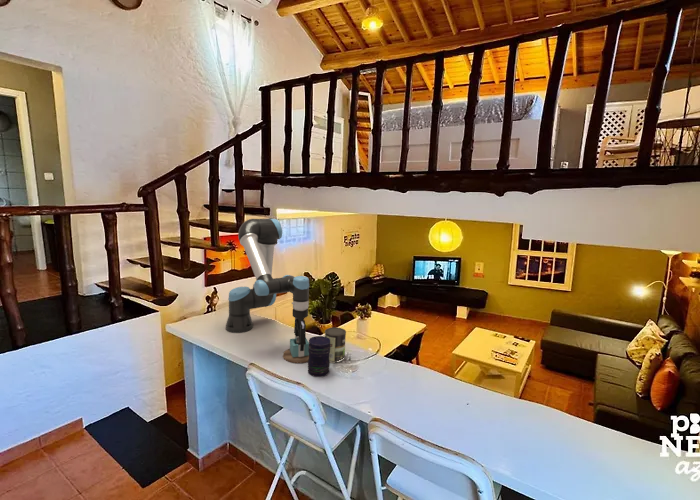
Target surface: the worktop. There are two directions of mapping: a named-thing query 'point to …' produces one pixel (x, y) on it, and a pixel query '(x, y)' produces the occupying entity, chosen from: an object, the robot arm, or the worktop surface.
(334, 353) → the coffee can
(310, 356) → the storage jar
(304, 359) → the post stand
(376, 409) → the worktop surface
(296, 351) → the collar
